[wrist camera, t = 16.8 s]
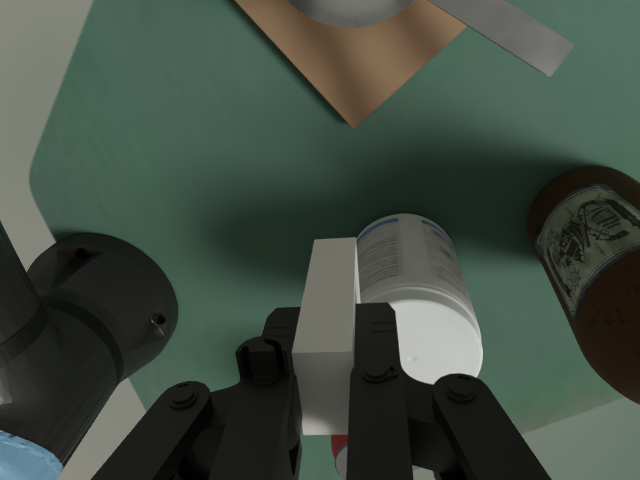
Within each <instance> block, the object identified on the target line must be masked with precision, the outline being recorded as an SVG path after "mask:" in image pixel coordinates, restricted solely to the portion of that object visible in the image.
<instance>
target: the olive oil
mask: <svg viewBox="0 0 640 480" xmlns="http://www.w3.org/2000/svg"><path fill="white" fill-rule="evenodd" d="M528 234H529V238H530V241H531V243H532V246H533V248H534V250H535V252H536V254H537V256H538V258H539V260H540V262H541V263H542V265H543V267H544V269H545V271H546V274H547V276H548V278H549V280H550V282H551V284H552V286H553V289H554V291H555V293H556V295H557V297H558V299H559V302H560V304H561V306H562V308H563V310H564V313H565V315H566V317H567V320H568V322H569V324H570V326H571V329H572V331H573V333H574V335H575V338H576V340H577V342H578V344H579V347H580V349H581V351H582V353H583V355H584V356H585V358H586V360H587V361H588V363H589V364H590V366H591V367H592V368H593V369H594V370H595V372H596V373H597V374H598V375H599V376H600V377H601V378H602V379H603V380H604V381H606V382H607V383H608V384H609V385H610V386H611V387H613V388H614V389H615V390H616V391H618V392H619V393H621V394H622V395H623V396H625V397H627V398H628V399H630V400H632V401H634V402H635V403H638V404H640V183H639V182H637V181H636V180H634V179H633V178H631V177H630V176H628V175H626V174H625V173H623V172H621V171H618V170H615V169H612V168H607V167H584V168H579V169H576V170H573V171H570V172H567V173H565V174H563V175H561V176H559V177H558V178H556V179H555V180H553V181H552V182H551V183H549V184H548V185H547V186H546V187H545V188H544V189H543V190H542V191H541V192H540V193H539V195H538V196H537V198H536V199H535V201H534V203H533V204H532V207H531V209H530V212H529V216H528Z"/></svg>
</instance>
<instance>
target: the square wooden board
mask: <svg viewBox="0 0 640 480" xmlns="http://www.w3.org/2000/svg"><path fill="white" fill-rule="evenodd" d="M235 1H236V2H237V3H238V4H239V5H240V7H241V8H242V9H243V10H244V11H245V12H246V13H247V14H248V15H249V16H250V17H251V18H252V19H253V21H254V22H255V23H256V24H257V25H258V26H259V27H260V28H261V29H262V30H263V31H264V32H265V34H266V35H267V36H268V37H269V38H270V39H271V40H272V41H273V42H274V43H275V44H276V45H277V47H278V48H279V49H280V50H281V51H282V52H283V53H284V54H285V55H286V56H287V57H288V58H289V60H290V61H291V62H292V63H293V64H294V65H295V66H296V67H297V68H298V69H299V70H300V71H301V73H302V74H303V75H304V76H305V77H306V78H307V79H308V80H309V81H310V82H311V83H312V84H313V86H314V87H315V88H316V89H317V90H318V91H319V92H320V93H321V94H322V95H323V96H324V97H325V99H326V100H327V101H328V102H329V103H330V104H331V105H332V106H333V107H334V108H335V109H336V110H337V112H338V113H339V114H340V115H341V116H342V117H343V118H344V119H345V120H346V121H347V122H348V123H349V124H350V126H351V127H352V128H353V129H355V128H356V127H357V126H358V125H359V124H360V123H361V122H362V121H364V120H365V119H366V118H367V117H368V116H369V115H370V114H371V113H372V112H373V111H375V110H376V109H377V108H378V107H379V106H380V105H381V104H382V103H383V102H384V101H385V100H387V99H388V98H389V97H390V96H391V95H392V94H393V93H394V92H395V91H396V90H398V89H399V88H400V87H401V86H402V85H403V84H404V83H405V82H406V81H407V80H409V79H410V78H411V77H412V76H413V75H414V74H415V73H416V72H417V71H418V70H419V69H421V68H422V67H423V66H424V65H425V64H426V63H427V62H428V61H429V60H430V59H432V58H433V57H434V56H435V55H436V54H437V53H438V52H439V51H440V50H441V49H442V48H444V47H445V46H446V45H447V44H448V43H449V42H450V41H451V40H452V39H453V38H455V37H456V36H457V35H458V34H459V33H460V32H461V31H462V30H463V29H464V28H466V27H467V25H465V24H464V23H462V22H461V21H459V20H457V19H456V18H454V17H453V16H451V15H449V14H448V13H446V12H445V11H443V10H442V9H440V8H438V7H437V6H435V5H434V4H432V3H431V2H429V1H427V0H413V1H412V2H411V3H410V4H409V5H408V6H407V7H406V8H404V9H403V10H401V11H400V12H399V13H397V14H396V15H394V16H392V17H390V18H388V19H387V20H385V21H382V22H379V23H377V24H374V25H370V26H366V27H360V28H338V27H333V26H328V25H325V24H323V23H320V22H317V21H315V20H313V19H311V18H309V17H307V16H306V15H304V14H303V13H301V12H300V11H299V10H297V9H296V8H295V7H294V6H293V5H292V4H291V3H290V2H288V1H287V0H235Z"/></svg>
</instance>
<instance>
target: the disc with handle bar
mask: <svg viewBox="0 0 640 480" xmlns="http://www.w3.org/2000/svg"><path fill="white" fill-rule="evenodd" d="M287 1H288V2H290V3H291V4H292V5H293V6H294V7H295V8H296V9H297V10H299V11H300V12H301V13H303V14H304V15H306V16H307V17H309V18H311V19H313V20H315V21H317V22H320V23H323V24H325V25H328V26H333V27H338V28H360V27H366V26H370V25H374V24H377V23H379V22H382V21H385V20H387V19H388V18H390V17H392V16H394V15H396V14H397V13H399V12H400V11H401V10H403V9H404V8H406V7H407V6H408V5H409V4H410V3H411V2H412V1H413V0H287ZM427 1H429V2H431V3H432V4H434V5H435V6H437V7H438V8H440V9H442V10H443V11H445V12H446V13H448V14H449V15H451V16H453V17H454V18H456V19H457V20H459V21H461V22H462V23H464V24H465V25H467V26H468V27H470V28H472V29H473V30H475V31H476V32H478V33H479V34H481V35H483V36H484V37H486V38H487V39H489V40H491V41H492V42H494V43H495V44H497V45H498V46H500V47H502V48H503V49H505V50H506V51H508V52H509V53H511V54H513V55H514V56H516V57H517V58H519V59H521V60H522V61H524V62H525V63H527V64H528V65H530V66H532V67H533V68H535V69H536V70H538V71H539V72H541V73H543V74H545V75H547V76H549V77H551V76H552V74H553V73H554V72H555V70H556V69H557V68H558V66H559V65H560V64H561V62H562V61H563V60H564V58H565V57H566V56H567V54H568V53H569V52H570V50H571V49H572V48H573V46H574V45H573V44H572V43H570V42H569V41H567V40H566V39H564V38H562V37H561V36H559V35H558V34H556V33H555V32H553V31H552V30H550V29H549V28H547V27H545V26H544V25H542V24H541V23H539V22H538V21H536V20H535V19H533V18H532V17H530V16H528V15H527V14H525V13H524V12H522V11H521V10H519V9H518V8H516V7H515V6H513V5H511V4H510V3H508V2H507V1H505V0H427Z"/></svg>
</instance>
